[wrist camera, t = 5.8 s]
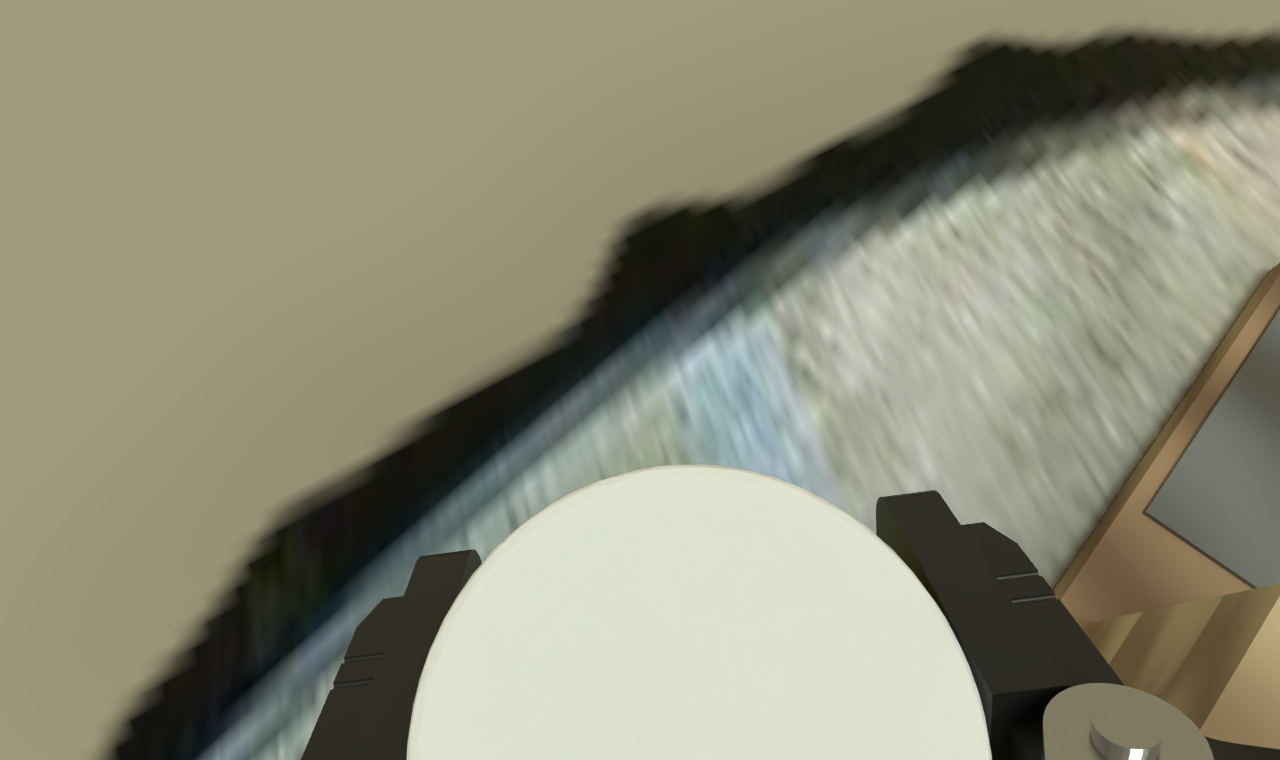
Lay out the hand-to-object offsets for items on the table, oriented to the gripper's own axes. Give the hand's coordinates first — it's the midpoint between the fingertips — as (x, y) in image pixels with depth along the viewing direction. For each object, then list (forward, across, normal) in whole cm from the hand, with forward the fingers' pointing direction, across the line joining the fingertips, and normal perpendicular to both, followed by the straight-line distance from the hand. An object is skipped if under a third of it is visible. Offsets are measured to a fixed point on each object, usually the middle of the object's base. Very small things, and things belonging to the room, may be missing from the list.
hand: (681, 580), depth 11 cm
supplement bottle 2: (+2, 0, +4) cm, 5 cm away
